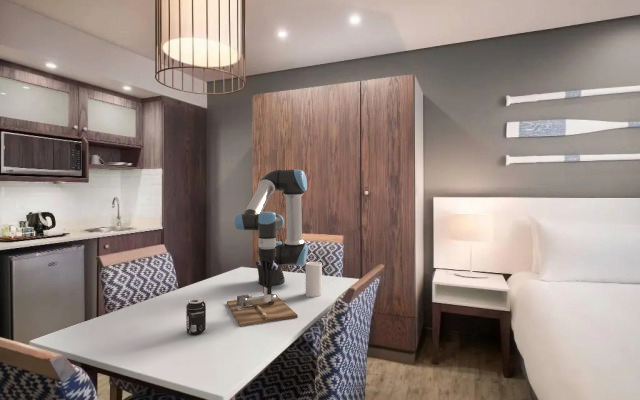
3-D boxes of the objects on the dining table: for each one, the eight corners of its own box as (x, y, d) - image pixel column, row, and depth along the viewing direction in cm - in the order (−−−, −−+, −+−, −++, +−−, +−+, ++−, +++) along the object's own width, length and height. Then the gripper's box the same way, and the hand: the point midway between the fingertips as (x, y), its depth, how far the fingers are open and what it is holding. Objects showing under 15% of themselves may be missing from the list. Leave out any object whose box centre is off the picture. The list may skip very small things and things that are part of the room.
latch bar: (274, 298, 163) (274, 292, 162) (277, 301, 159) (277, 294, 159) (238, 304, 154) (238, 297, 154) (241, 307, 150) (241, 300, 150)
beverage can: (190, 328, 134) (190, 297, 133) (208, 328, 133) (208, 297, 133) (183, 336, 127) (183, 303, 126) (201, 336, 127) (201, 303, 126)
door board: (226, 303, 163) (226, 292, 163) (276, 297, 173) (276, 287, 173) (239, 326, 136) (239, 313, 136) (297, 317, 146) (297, 305, 146)
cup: (322, 292, 182) (322, 261, 181) (320, 297, 174) (321, 265, 173) (306, 291, 183) (306, 261, 182) (304, 296, 174) (304, 264, 174)
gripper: (250, 246, 152) (251, 300, 153) (270, 250, 144) (270, 307, 145) (264, 244, 158) (264, 296, 159) (284, 248, 149) (284, 302, 150)
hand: (267, 301), depth 152 cm, fingers closed
